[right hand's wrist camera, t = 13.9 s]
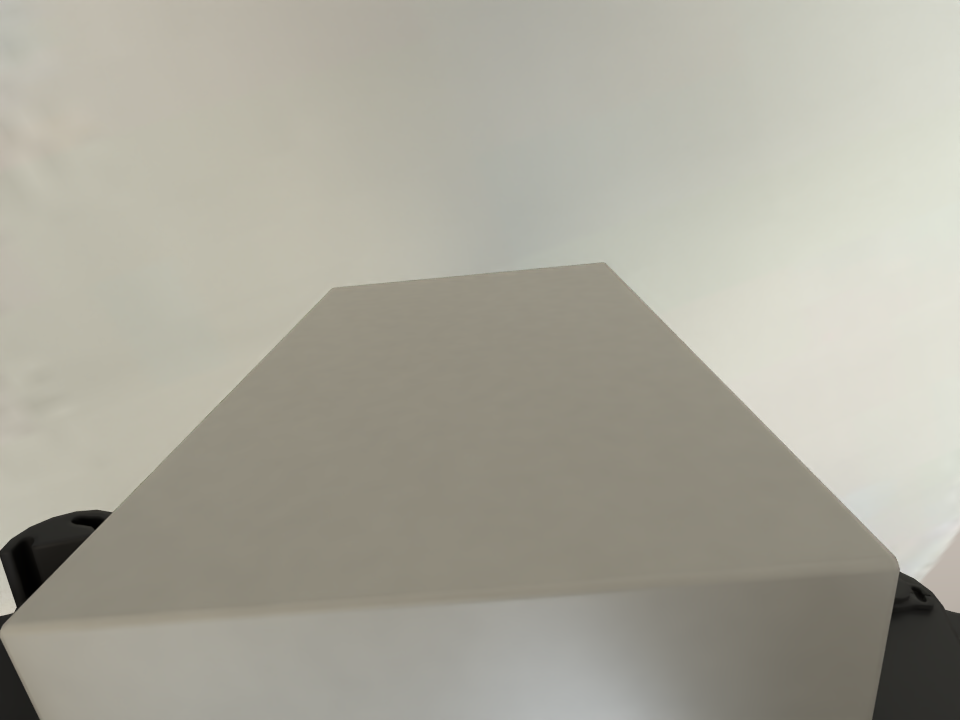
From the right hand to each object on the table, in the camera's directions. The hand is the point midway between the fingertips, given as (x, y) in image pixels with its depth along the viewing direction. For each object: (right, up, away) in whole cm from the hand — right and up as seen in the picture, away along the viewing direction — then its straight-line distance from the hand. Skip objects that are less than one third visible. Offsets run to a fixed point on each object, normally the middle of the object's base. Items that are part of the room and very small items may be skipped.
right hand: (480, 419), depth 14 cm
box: (+1, -9, +5) cm, 10 cm away
